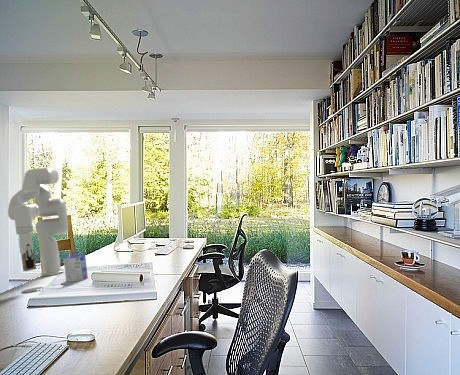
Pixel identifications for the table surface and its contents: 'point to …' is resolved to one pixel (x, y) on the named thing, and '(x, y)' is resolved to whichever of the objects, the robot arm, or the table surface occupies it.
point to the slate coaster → (32, 290)
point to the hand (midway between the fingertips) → (29, 267)
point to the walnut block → (25, 262)
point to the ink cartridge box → (75, 268)
